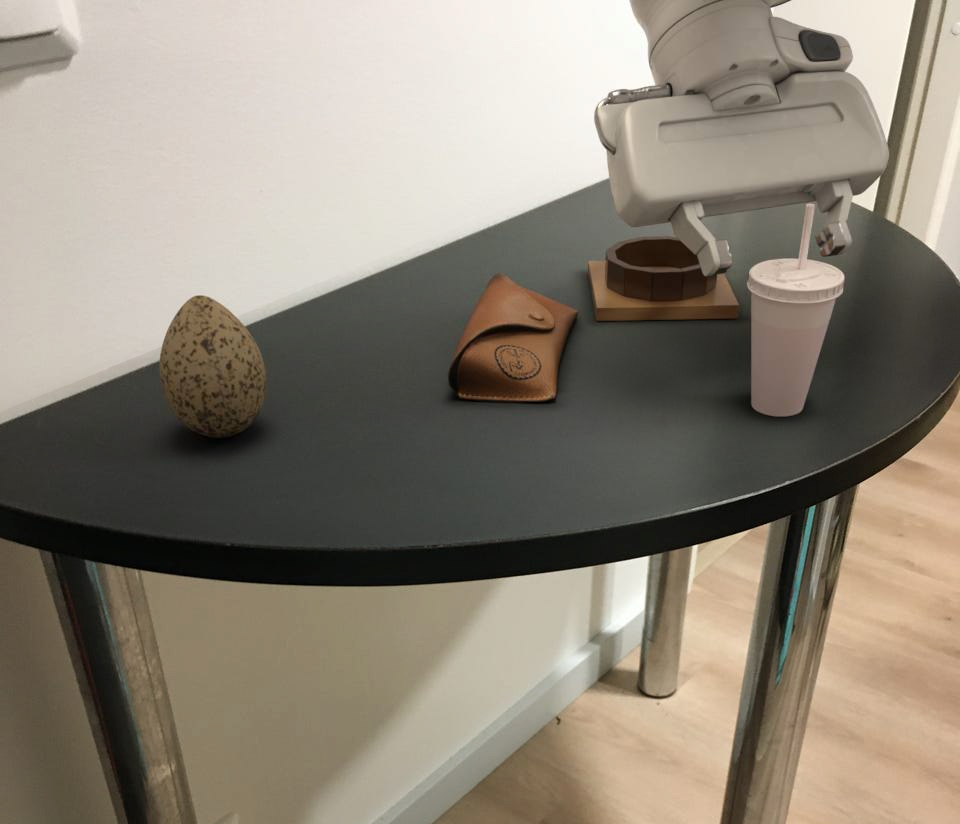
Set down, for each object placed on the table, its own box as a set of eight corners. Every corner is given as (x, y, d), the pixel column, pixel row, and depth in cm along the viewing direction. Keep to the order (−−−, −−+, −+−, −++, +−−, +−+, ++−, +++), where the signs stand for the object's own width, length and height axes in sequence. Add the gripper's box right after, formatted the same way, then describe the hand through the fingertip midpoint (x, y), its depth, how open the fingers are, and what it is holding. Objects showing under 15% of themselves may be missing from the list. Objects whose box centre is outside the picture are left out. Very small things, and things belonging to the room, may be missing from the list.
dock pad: (715, 270, 104) (720, 230, 101) (737, 318, 94) (742, 275, 92) (587, 273, 104) (589, 233, 102) (596, 321, 94) (597, 278, 92)
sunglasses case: (562, 398, 81) (515, 320, 78) (482, 438, 84) (434, 366, 81) (581, 309, 95) (542, 240, 92) (512, 346, 98) (472, 281, 95)
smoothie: (838, 402, 81) (875, 203, 72) (794, 433, 77) (827, 228, 69) (760, 379, 84) (787, 187, 76) (715, 408, 80) (737, 209, 72)
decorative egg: (230, 465, 75) (204, 323, 69) (152, 443, 78) (120, 305, 72) (294, 423, 80) (275, 287, 74) (217, 404, 83) (193, 272, 77)
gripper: (602, 63, 72) (662, 259, 70) (868, 36, 77) (928, 218, 76) (572, 122, 78) (627, 304, 76) (821, 94, 83) (876, 263, 82)
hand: (779, 261), depth 76 cm, fingers open, 8 cm apart
